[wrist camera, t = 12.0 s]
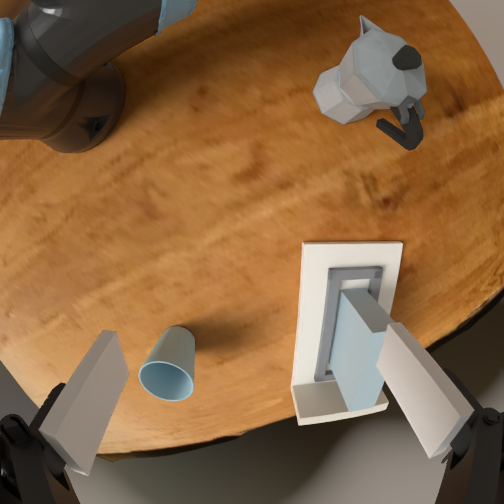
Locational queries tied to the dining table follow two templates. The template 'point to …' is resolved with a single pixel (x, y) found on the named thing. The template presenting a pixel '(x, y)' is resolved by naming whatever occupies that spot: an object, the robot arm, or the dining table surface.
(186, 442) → the dining table surface
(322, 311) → the track
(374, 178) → the dining table surface
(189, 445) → the dining table surface
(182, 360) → the cup
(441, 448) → the robot arm
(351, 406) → the light blue block
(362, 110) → the coffee maker
